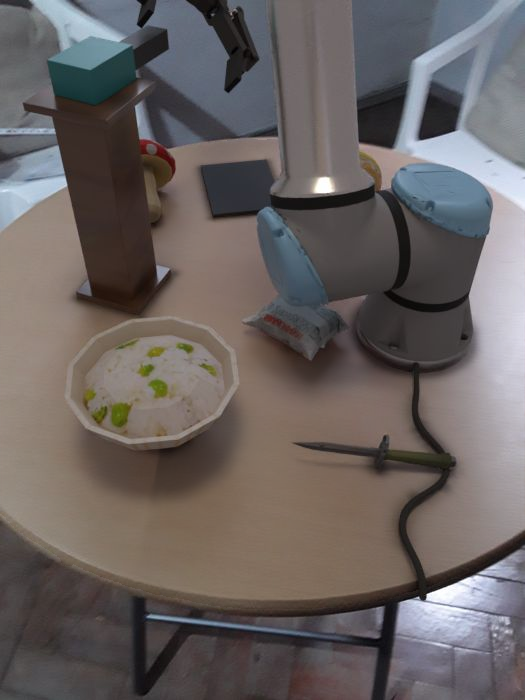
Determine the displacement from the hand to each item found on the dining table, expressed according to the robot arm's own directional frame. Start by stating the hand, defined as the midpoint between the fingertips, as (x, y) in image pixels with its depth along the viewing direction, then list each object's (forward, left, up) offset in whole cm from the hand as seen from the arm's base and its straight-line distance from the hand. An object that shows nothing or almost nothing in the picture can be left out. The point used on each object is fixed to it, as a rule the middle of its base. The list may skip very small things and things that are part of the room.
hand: (190, 53), depth 86 cm
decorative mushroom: (+13, +9, -30) cm, 33 cm away
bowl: (-35, +10, -30) cm, 47 cm away
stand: (-8, +13, -29) cm, 33 cm away
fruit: (+5, -24, -30) cm, 39 cm away
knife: (-45, -13, -30) cm, 56 cm away
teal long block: (-3, +9, 0) cm, 10 cm away
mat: (+15, -8, -29) cm, 34 cm away
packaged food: (-23, -9, -30) cm, 39 cm away
